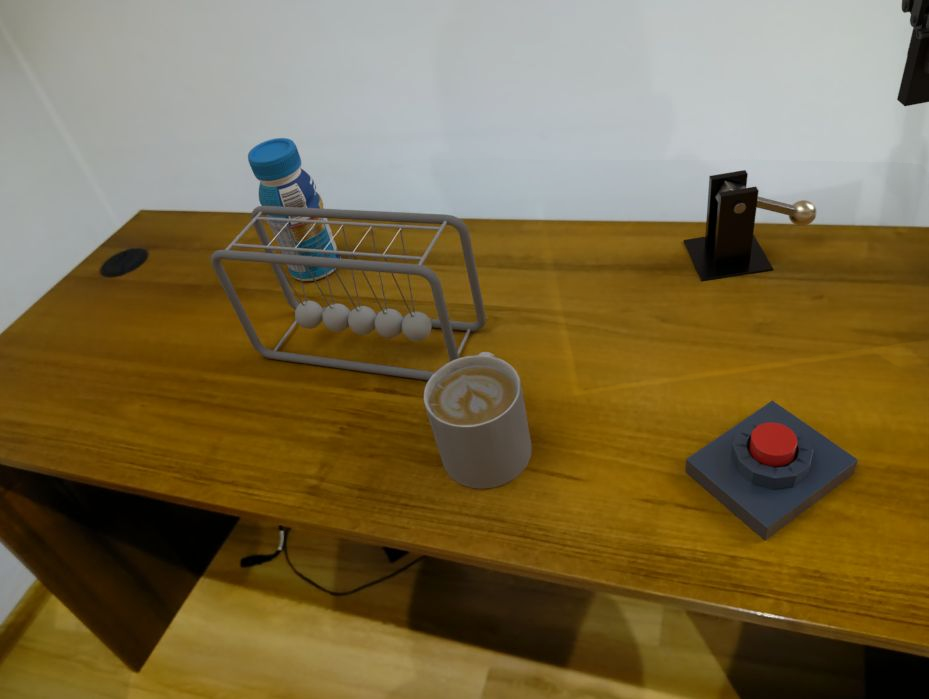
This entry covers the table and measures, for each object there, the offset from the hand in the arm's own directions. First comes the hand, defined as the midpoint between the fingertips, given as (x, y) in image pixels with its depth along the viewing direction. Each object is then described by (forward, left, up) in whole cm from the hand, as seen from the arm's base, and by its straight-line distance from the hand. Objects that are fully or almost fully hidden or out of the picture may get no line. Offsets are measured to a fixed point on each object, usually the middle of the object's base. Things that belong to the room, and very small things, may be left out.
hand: (915, 100), depth 67 cm
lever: (+8, -13, -19) cm, 24 cm away
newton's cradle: (+60, -7, -26) cm, 66 cm away
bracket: (+12, -13, -26) cm, 31 cm away
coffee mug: (+45, +12, -26) cm, 53 cm away
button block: (+18, +21, -26) cm, 38 cm away
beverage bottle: (+70, -27, -26) cm, 79 cm away
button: (+18, +21, -22) cm, 35 cm away
